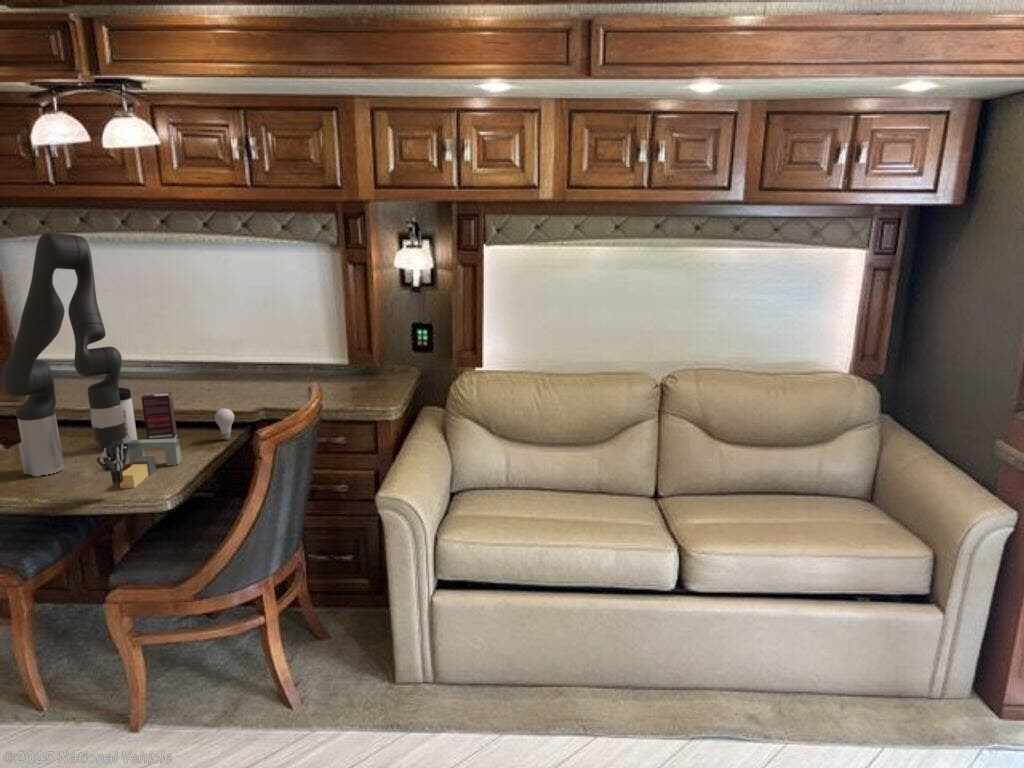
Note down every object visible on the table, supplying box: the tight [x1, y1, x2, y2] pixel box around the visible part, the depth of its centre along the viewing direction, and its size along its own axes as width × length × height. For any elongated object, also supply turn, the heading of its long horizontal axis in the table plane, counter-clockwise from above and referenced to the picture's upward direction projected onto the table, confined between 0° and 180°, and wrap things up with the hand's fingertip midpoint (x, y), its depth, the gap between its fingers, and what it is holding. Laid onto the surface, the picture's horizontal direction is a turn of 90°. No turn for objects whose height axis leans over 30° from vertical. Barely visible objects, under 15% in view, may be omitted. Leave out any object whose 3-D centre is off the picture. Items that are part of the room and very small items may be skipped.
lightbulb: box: [214, 408, 235, 441], centre depth 229 cm, size 6×6×11 cm
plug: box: [119, 455, 157, 489], centre depth 197 cm, size 5×14×5 cm, turn 4°
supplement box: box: [140, 391, 178, 440], centre depth 229 cm, size 9×5×16 cm, turn 105°
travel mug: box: [119, 387, 138, 443], centre depth 220 cm, size 6×7×20 cm
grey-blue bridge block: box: [127, 438, 182, 467], centre depth 207 cm, size 14×3×8 cm, turn 94°
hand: (118, 482), depth 184 cm, fingers closed
